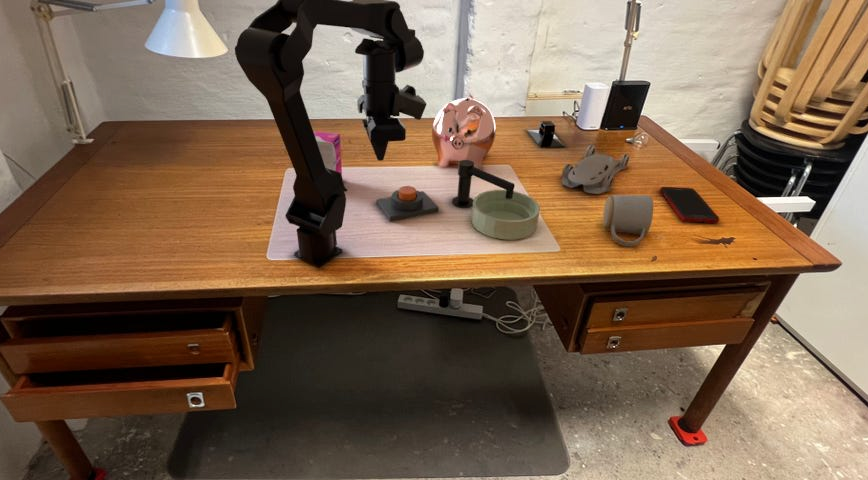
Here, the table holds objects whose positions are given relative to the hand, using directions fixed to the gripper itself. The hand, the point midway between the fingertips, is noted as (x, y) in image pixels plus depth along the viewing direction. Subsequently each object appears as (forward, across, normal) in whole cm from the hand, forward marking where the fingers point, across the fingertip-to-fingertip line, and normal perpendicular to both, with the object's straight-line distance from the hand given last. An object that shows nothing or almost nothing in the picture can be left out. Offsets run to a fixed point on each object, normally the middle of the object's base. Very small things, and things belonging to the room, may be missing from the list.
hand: (380, 159), depth 100 cm
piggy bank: (+12, +22, -24) cm, 35 cm away
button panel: (+12, +1, -6) cm, 13 cm away
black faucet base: (+12, +1, -18) cm, 22 cm away
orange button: (+9, +1, -6) cm, 11 cm away
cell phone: (+11, -10, -67) cm, 69 cm away
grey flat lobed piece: (+11, +8, -54) cm, 55 cm away
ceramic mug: (+12, -17, -47) cm, 51 cm away
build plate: (+11, +33, -52) cm, 63 cm away
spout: (+6, -4, -21) cm, 22 cm away
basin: (+12, -9, -24) cm, 28 cm away
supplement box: (+12, +15, +10) cm, 21 cm away
